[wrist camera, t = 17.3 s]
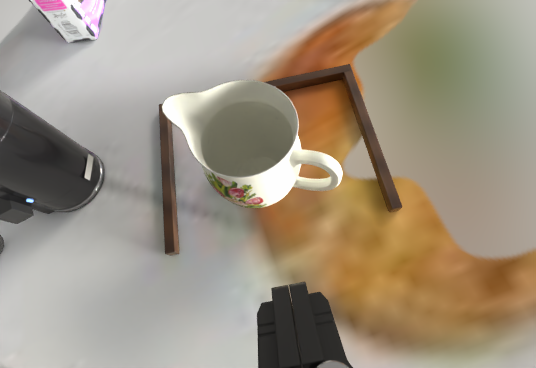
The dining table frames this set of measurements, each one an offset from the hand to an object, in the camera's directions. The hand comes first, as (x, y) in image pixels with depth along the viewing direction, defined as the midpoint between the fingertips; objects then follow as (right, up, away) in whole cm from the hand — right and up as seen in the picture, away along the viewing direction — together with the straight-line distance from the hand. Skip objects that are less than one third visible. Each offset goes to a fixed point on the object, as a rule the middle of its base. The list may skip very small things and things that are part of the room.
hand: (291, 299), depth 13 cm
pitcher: (-1, +5, +26) cm, 27 cm away
